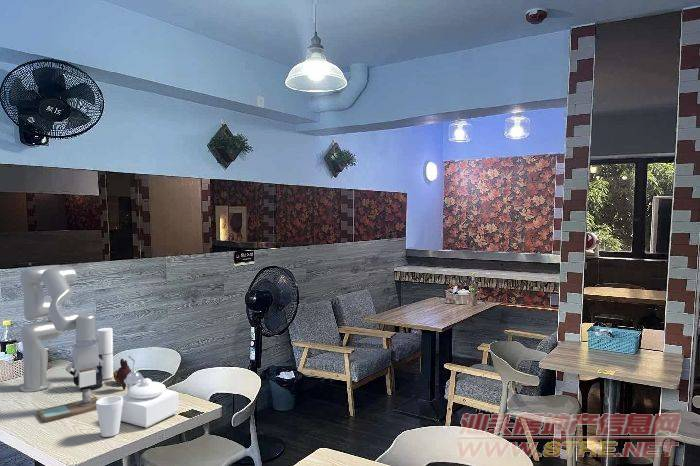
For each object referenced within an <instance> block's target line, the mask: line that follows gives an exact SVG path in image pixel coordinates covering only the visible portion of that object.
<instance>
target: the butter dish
mask: <svg viewBox="0 0 700 466" xmlns="http://www.w3.org/2000/svg"><path fill="white" fill-rule="evenodd" d="M179 394H180V393H179V392H178V391H174V390H169V389H166V385H165V384H163V383H162V382H159V381H152V379H150V378H148V377H146V378H145V377H144V379H143V380H142V381H141V383H139V384H136V385H134V386H132V387H131V388H130V389H129V390H128V393H126V394H124V395H120V396H121V397H123V405H122V413H121V421H120V422H124V423H127V424H131V425H134V426H139V427H141V428H143V427H144V428H146V429H147V428H149V427H151V426H153V425H155V424H157V423H158V422H161V421H163V420H165V419H167V418H170V417H171V416H174V415H175V414H177V413H179V410H180V407H179V404H180V403H179V400H180V396H179Z"/></svg>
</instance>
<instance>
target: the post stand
mask: <svg viewBox="0 0 700 466" xmlns="http://www.w3.org/2000/svg"><path fill="white" fill-rule="evenodd" d="M81 391H82V392H81V393H82V394H81V395H82V396H81V397H82V400H77V401H73V402H69V403H63V404H60V405H57V406H52V407H48V408H45V409H40V410H36V415H37V416H38V417H39V419H40V420H41V421H42V422H43V424H48V423H51V422H52V423H53V422H55V421H59V420H62V419H66V418H71V417H74V416H78V415H82V414H86V413H89V412H94V411H97V409H96V401H97V400H98V399H99V398H98V397H96V396H93V397H91V396H92V395H91V391H92V390H90V389H85V390H81Z"/></svg>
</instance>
